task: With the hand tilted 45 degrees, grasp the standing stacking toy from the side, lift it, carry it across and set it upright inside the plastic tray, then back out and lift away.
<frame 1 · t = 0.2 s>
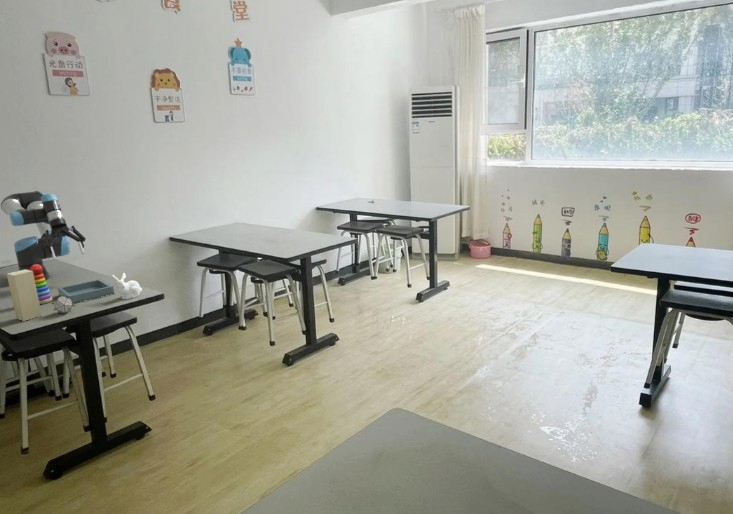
hand: (69, 256, 286), 15 cm above the table, tool tilted 35°, fingers open, 13 cm apart
game die: (65, 313, 246), on the table
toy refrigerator: (29, 318, 242), on the table
rabbit: (128, 297, 263), on the table
tray: (86, 294, 270), on the table
stacking toy: (43, 302, 263), on the table
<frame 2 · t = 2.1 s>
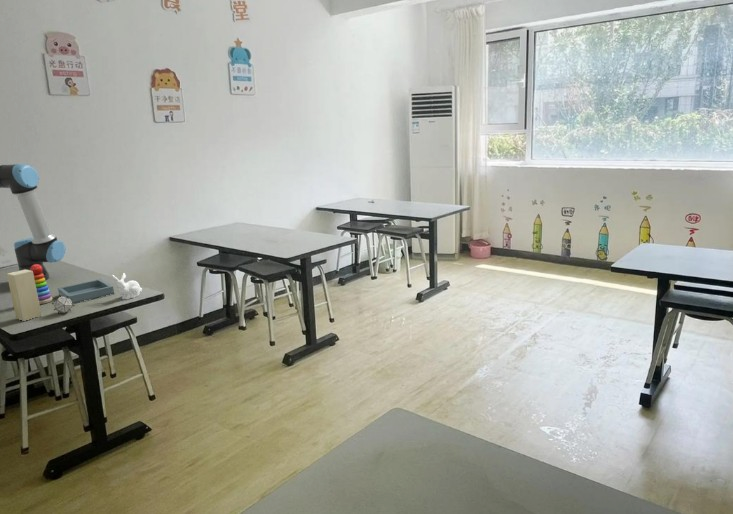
hand: (2, 251, 255), 26 cm above the table, tool tilted 45°, fingers open, 13 cm apart
nothing on the table moved.
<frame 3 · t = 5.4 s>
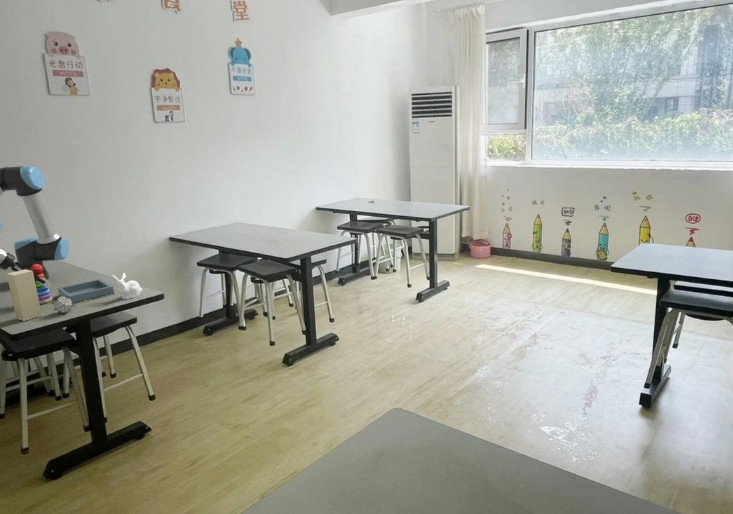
hand: (48, 284, 263), 8 cm above the table, tool tilted 45°, fingers closed on stacking toy, 6 cm apart
stacking toy: (43, 302, 263), on the table, touching gripper
everything else where it was.
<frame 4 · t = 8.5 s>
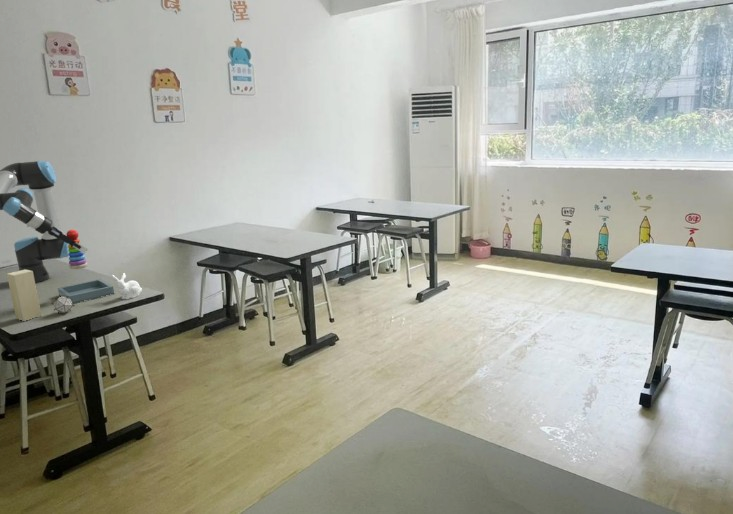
hand: (84, 250, 266), 22 cm above the table, tool tilted 45°, fingers closed on stacking toy, 6 cm apart
stacking toy: (78, 267, 266), point 14 cm above the table, touching gripper
everything else where it was.
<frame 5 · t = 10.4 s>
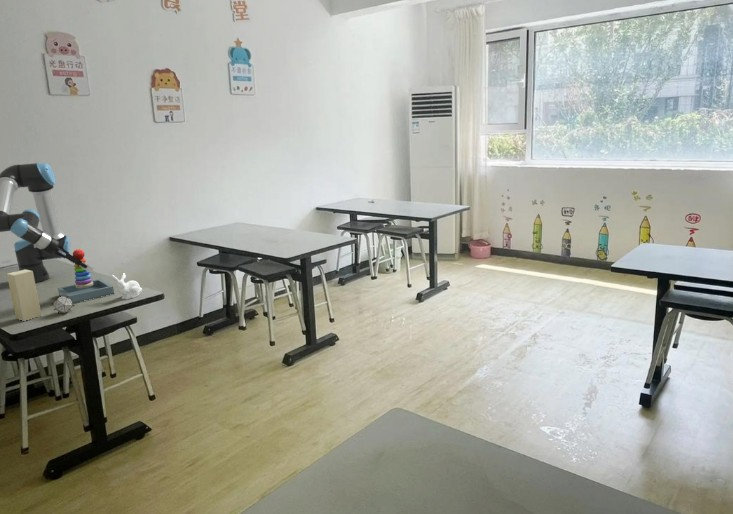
hand: (89, 269, 269), 12 cm above the table, tool tilted 45°, fingers closed on stacking toy, 6 cm apart
stacking toy: (84, 286, 269), point 4 cm above the table, touching gripper
everything else where it was.
when the fingers open (10 cm above the table, at t = 11.7 s): stacking toy drops 1 cm, resting on tray.
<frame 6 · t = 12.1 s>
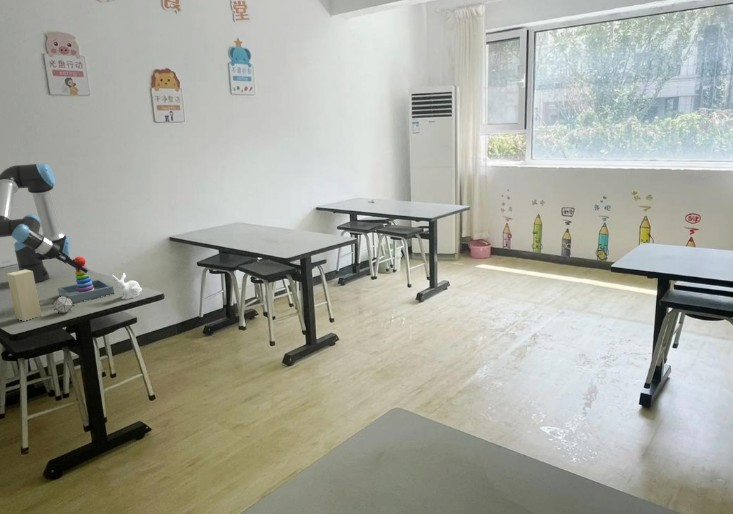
hand: (88, 272, 269), 11 cm above the table, tool tilted 45°, fingers open, 11 cm apart
stacking toy: (86, 293, 270), point 1 cm above the table, touching tray
everything else where it was.
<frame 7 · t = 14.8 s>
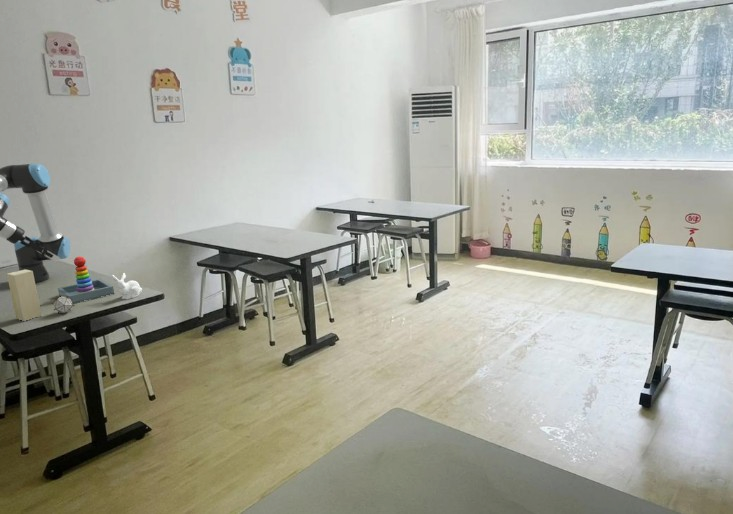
hand: (54, 258, 258), 21 cm above the table, tool tilted 45°, fingers open, 13 cm apart
nothing on the table moved.
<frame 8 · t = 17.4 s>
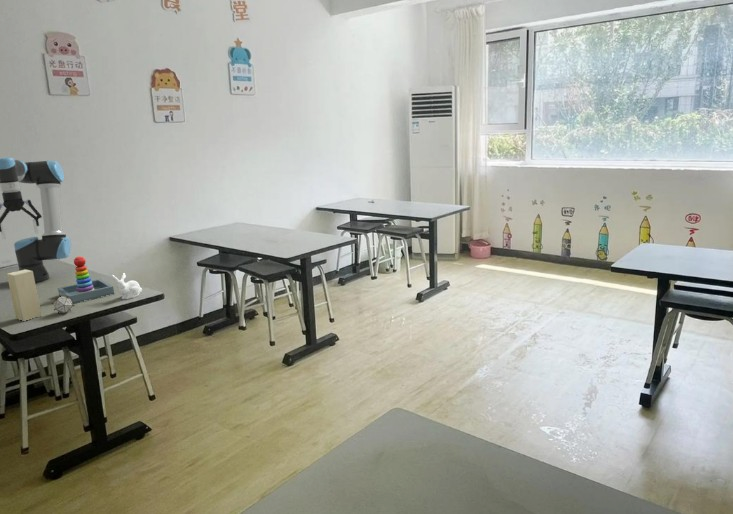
hand: (20, 235, 260), 32 cm above the table, tool pointing down, fingers open, 13 cm apart
nothing on the table moved.
at the end: stacking toy inside the target area on the tray (0.1 cm from its centre), point 0.6 cm above the tray's base; stacking toy tilted 0°; the gripper is holding nothing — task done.
